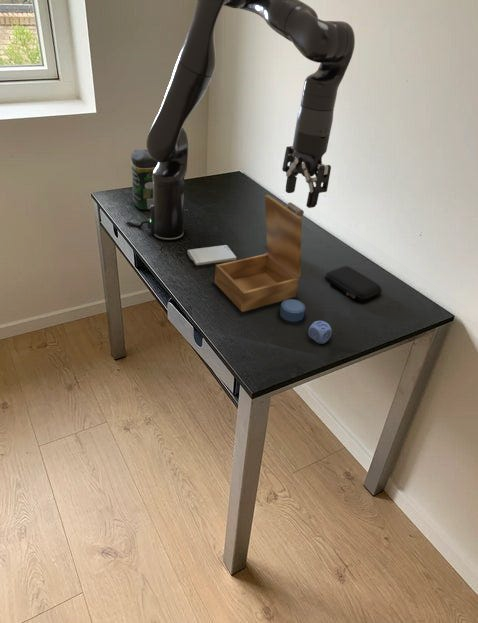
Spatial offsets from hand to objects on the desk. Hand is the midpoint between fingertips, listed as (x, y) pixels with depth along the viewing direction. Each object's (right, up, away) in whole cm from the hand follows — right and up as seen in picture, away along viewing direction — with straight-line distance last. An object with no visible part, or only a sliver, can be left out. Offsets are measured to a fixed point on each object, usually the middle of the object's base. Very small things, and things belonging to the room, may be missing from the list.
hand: (300, 199), depth 113 cm
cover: (-3, -7, +10) cm, 13 cm away
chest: (-10, -21, +16) cm, 29 cm away
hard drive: (-22, -11, +29) cm, 38 cm away
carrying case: (+17, -20, +22) cm, 34 cm away
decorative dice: (+5, -33, +2) cm, 33 cm away
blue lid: (-1, -28, +9) cm, 29 cm away
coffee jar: (-47, +11, +55) cm, 73 cm away
